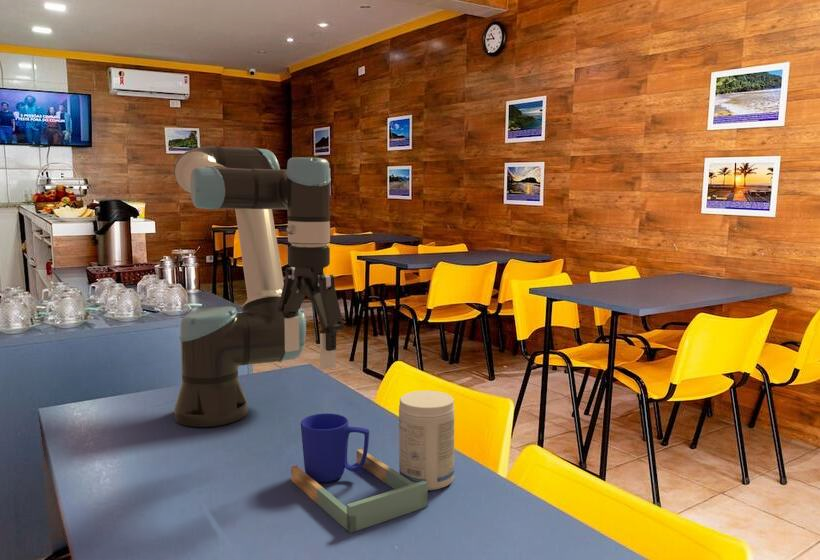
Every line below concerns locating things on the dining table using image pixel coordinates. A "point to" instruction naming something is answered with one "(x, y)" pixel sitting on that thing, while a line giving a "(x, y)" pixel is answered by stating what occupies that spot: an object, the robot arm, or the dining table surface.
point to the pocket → (377, 503)
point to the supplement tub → (427, 438)
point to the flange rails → (311, 487)
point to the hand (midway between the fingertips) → (309, 358)
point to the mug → (328, 446)
